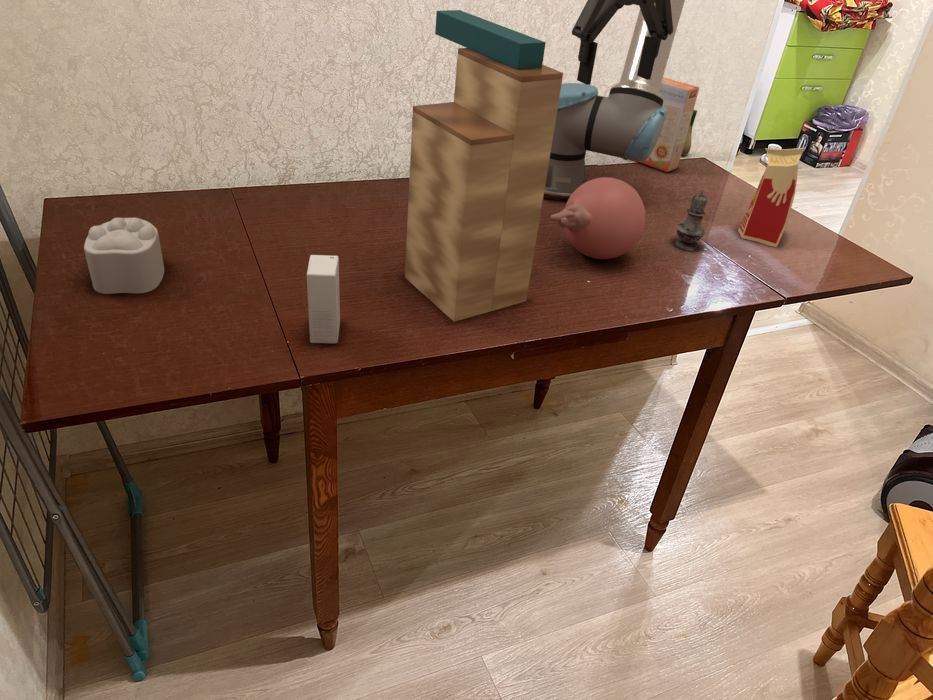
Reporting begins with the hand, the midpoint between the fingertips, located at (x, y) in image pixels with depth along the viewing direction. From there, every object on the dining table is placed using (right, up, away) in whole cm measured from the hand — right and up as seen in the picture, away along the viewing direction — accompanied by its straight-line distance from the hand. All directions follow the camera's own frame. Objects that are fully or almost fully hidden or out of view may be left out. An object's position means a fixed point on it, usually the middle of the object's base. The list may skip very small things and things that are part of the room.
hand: (614, 80), depth 122 cm
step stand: (-26, -36, +2) cm, 44 cm away
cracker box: (+23, +3, +65) cm, 69 cm away
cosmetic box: (-47, -44, -13) cm, 66 cm away
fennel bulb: (+33, +7, +72) cm, 80 cm away
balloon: (-2, -28, +17) cm, 33 cm away
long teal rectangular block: (-23, -1, -14) cm, 27 cm away
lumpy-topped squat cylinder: (-81, -34, -4) cm, 88 cm away
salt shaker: (+20, -25, +25) cm, 41 cm away
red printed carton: (+38, -22, +33) cm, 55 cm away
